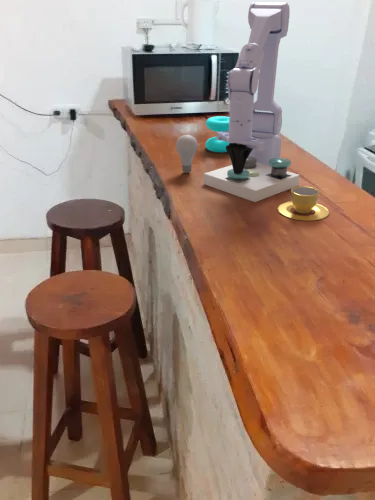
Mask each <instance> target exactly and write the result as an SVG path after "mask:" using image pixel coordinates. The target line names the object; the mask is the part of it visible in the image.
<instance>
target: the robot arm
mask: <svg viewBox="0 0 375 500" xmlns="http://www.w3.org/2000/svg"><path fill="white" fill-rule="evenodd" d="M290 11H291V10H290V5H289V4H288V2H256V1H253V2H252V3H251V4H250V5H249V8H248V12H247V13H248V15H247V17H248V18H247V21H248V25H249V29H251V30H250V34H249V38H248V43H246V44H244V45H242V47H241V50H240V53H239V56H238V58H237V61H236V64H235V66H234V68H232V69H231V70H229V71H228V75H227V81H226V82H227V83H226V86H227V91H228V92H227V93H228V95H227V96H228V101H229V115H228V117H229V131H227V132H217V131H216V135H215V137H216V140H219V141H220V140H222V141H226V142H229V143H230V144H229V145H228V146H226V150H227V152H226V153H228V156H229V159H230V161H231V165H232V166H233V171H234V173H237V174H238V173H241V172H243V169H244V166H245V163H246V160H247V158H248V157H254V158H256V159H257V163H260V164H264V165H267V166H270V165H269V160H270V159H271V158H281V150H282V139H281V137H280V135H279V134H280V132H281V129H282V124H283V110H282V109H283V108H282V107H281V106H280V105H279V104H278V103H277V102H276V101H275V100H274V97H275V87H276V77H277V65H278V57H279V49H280V48H279V47H280V42H281V39H282V38H285V37H286V36H287V34H288V31H289V23H290ZM256 92H257V95H256V100H255V99H254V98H255V94H256ZM271 167H272V166H271Z"/></svg>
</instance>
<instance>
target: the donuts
mask: <svg viewBox="0 0 375 500" xmlns="http://www.w3.org/2000/svg"><path fill="white" fill-rule="evenodd" d="M205 125H206V127H207V129H209V130H211V131H213V132H216V133H217V132H227V133H228V132H229V116H224V115H223V116H222V115H220V116H219V115H217V116H212V117H209V118H207V119H206V121H205ZM229 144H230V143H229V142H226V141H222V140H220V141H219V140H216V136H213V137H209V138H208V139H207V140H206V141H205V148H206V150H208V151H209V152H213V153H228V152H227V150H226V146H228V145H229Z"/></svg>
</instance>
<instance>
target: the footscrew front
mask: <svg viewBox="0 0 375 500" xmlns="http://www.w3.org/2000/svg"><path fill="white" fill-rule="evenodd" d="M227 176H228V177H229V178H230V181H233V182H236V183H241V182H244V181H246V178H248V177H249V171H247V170H244V169H243V172H241V173H238V174H237V173H234V171H233V169H231V170H228V171H227Z"/></svg>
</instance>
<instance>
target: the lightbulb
mask: <svg viewBox="0 0 375 500" xmlns="http://www.w3.org/2000/svg"><path fill="white" fill-rule="evenodd" d="M198 146H199V144H198V141H197V139H196V137H195V136H193V135H191V134H183V135H181V136H179V137H178V139H177V140H176V143H175V149H176V151H177V153H178V155H179V157H180V163H181V169H182V172H184V173H185V174H189V173H190V172H191V171H192V165H193V160H194V156H195V154H196V153H197V150H198V148H199V147H198Z"/></svg>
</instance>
